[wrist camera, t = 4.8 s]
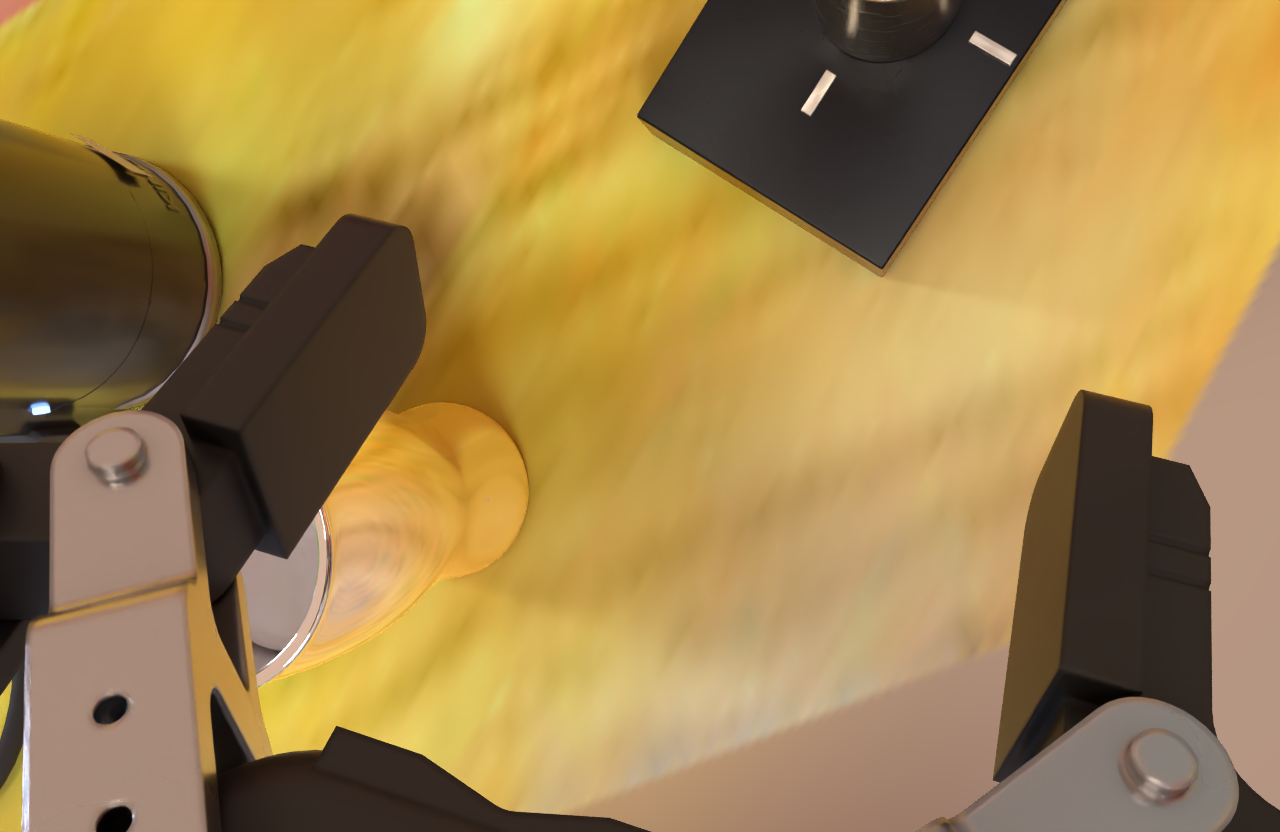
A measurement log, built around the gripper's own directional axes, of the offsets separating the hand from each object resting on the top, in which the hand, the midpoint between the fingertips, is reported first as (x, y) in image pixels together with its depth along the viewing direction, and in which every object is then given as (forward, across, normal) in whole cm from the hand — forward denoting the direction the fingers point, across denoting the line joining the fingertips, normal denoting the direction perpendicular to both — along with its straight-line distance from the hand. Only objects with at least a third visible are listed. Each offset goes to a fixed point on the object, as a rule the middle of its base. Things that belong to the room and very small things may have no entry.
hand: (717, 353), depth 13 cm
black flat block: (+24, +1, +10) cm, 26 cm away
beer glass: (+12, +12, +22) cm, 27 cm away
